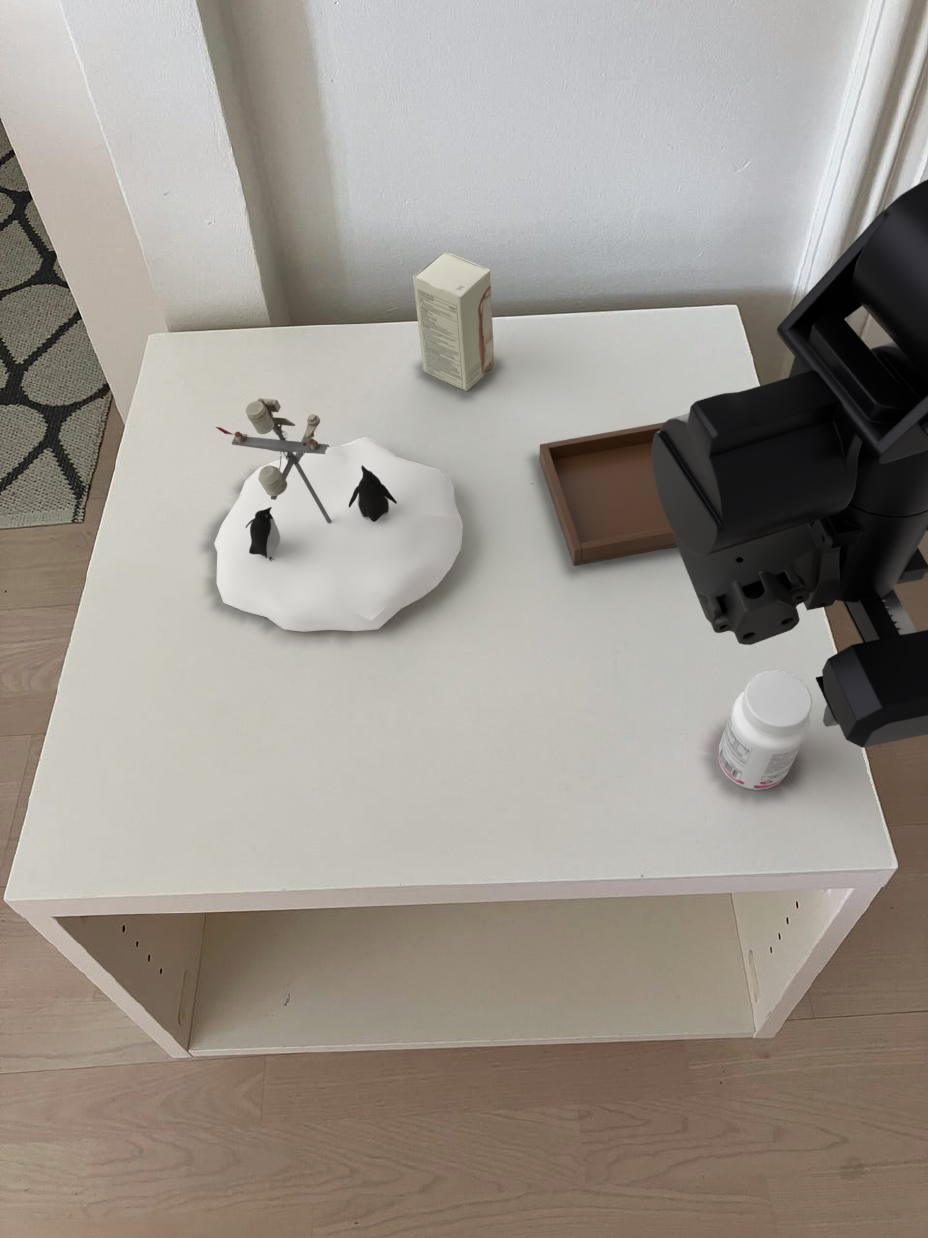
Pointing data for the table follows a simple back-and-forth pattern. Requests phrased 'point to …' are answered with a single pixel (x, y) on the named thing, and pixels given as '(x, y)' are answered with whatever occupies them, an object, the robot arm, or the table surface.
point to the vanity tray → (607, 494)
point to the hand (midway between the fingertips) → (801, 652)
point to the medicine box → (455, 319)
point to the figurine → (333, 531)
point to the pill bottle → (765, 730)
